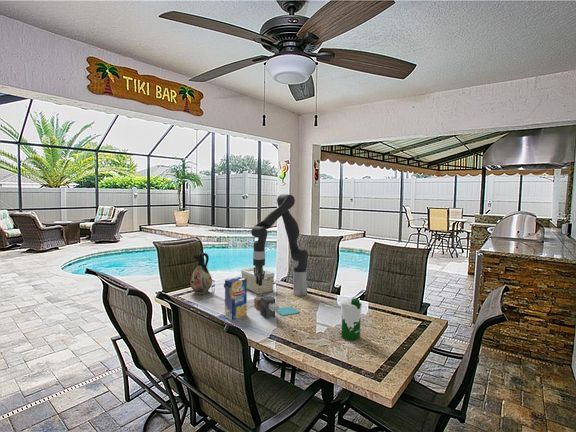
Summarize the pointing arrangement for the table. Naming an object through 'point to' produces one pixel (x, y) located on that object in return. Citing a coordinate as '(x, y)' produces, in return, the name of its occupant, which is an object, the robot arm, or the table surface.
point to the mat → (287, 311)
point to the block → (257, 303)
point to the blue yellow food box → (235, 298)
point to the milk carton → (351, 319)
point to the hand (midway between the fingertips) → (258, 284)
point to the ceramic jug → (201, 275)
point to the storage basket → (251, 281)
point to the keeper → (264, 309)
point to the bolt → (272, 306)
